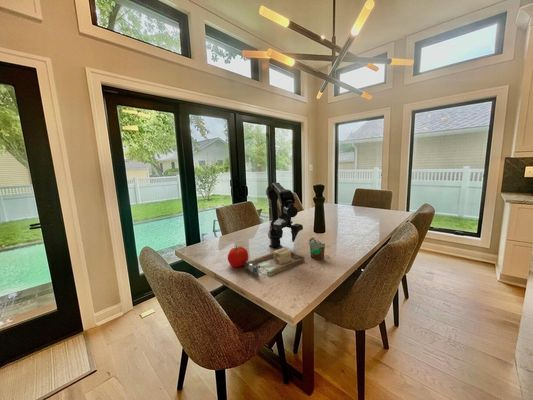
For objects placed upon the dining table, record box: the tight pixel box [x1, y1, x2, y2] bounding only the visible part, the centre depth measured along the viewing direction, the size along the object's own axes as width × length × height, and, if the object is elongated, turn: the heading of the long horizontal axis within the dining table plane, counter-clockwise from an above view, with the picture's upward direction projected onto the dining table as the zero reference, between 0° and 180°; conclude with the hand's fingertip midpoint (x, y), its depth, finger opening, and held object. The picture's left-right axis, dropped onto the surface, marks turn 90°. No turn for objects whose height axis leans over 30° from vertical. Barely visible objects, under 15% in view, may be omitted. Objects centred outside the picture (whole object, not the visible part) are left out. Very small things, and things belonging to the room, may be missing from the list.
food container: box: [307, 237, 326, 261], centre depth 128 cm, size 12×6×10 cm, turn 21°
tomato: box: [227, 245, 249, 268], centre depth 122 cm, size 12×12×10 cm
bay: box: [249, 247, 305, 277], centre depth 124 cm, size 18×26×3 cm
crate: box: [272, 247, 292, 266], centre depth 126 cm, size 6×8×6 cm
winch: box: [244, 259, 261, 278], centre depth 113 cm, size 13×6×6 cm, turn 37°
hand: (286, 240), depth 125 cm, fingers open, 9 cm apart
